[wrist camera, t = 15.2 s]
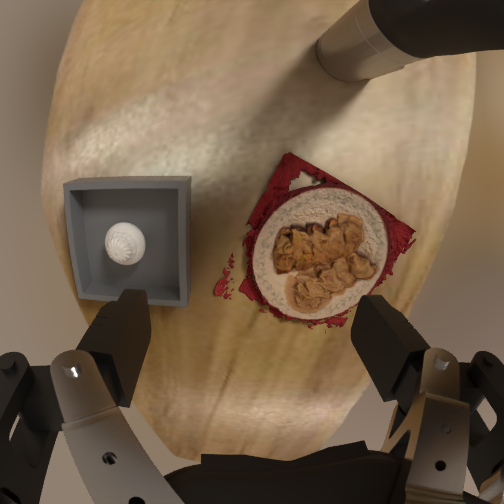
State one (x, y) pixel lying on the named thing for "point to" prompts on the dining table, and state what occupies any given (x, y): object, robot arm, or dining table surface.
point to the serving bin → (146, 219)
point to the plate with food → (317, 247)
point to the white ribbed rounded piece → (125, 243)
